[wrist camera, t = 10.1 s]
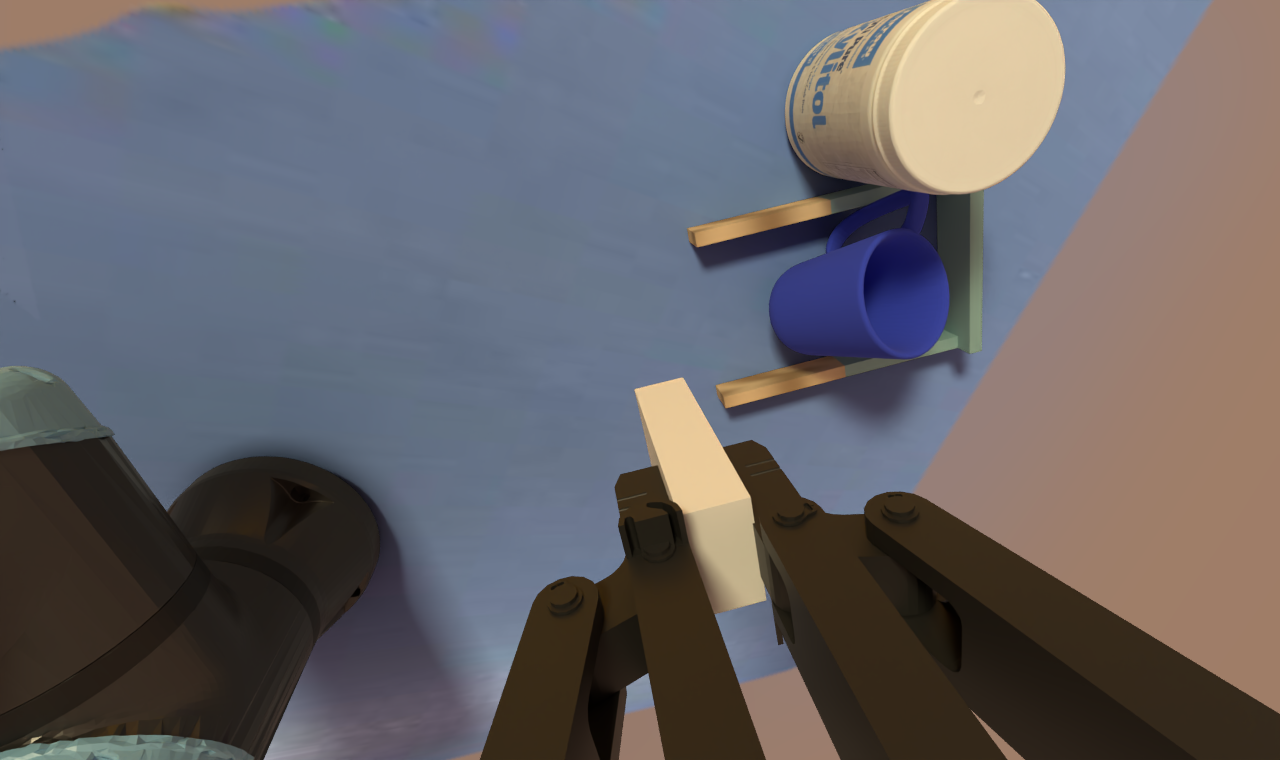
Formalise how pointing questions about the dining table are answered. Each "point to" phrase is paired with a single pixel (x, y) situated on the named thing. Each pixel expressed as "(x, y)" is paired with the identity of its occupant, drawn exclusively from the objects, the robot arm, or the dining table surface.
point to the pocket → (960, 261)
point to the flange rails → (786, 376)
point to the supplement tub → (930, 96)
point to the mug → (866, 290)
